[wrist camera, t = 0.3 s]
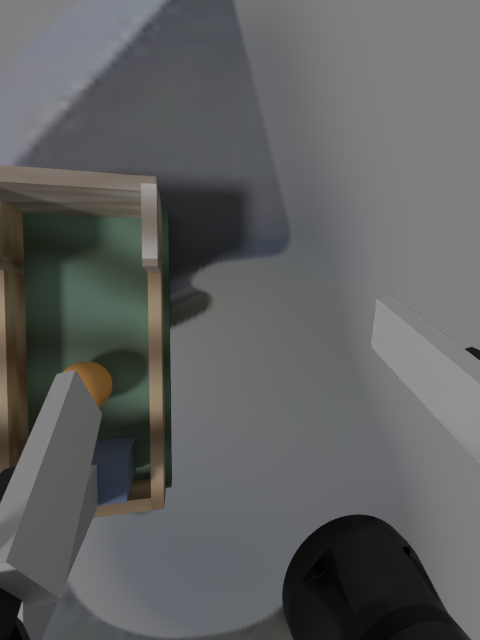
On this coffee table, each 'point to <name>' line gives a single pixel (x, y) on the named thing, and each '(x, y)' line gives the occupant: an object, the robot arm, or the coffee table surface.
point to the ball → (94, 380)
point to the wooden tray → (87, 310)
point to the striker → (91, 510)
